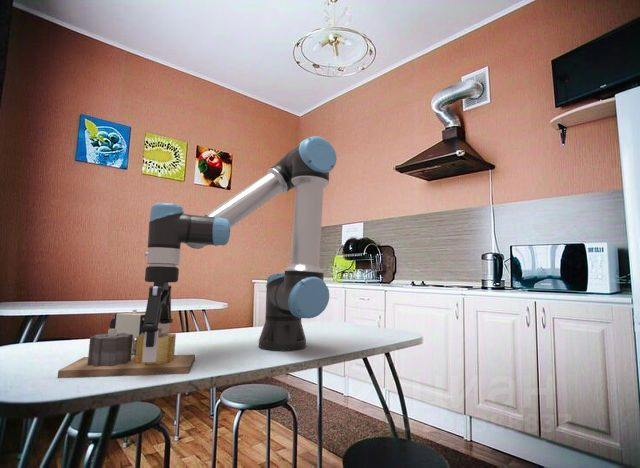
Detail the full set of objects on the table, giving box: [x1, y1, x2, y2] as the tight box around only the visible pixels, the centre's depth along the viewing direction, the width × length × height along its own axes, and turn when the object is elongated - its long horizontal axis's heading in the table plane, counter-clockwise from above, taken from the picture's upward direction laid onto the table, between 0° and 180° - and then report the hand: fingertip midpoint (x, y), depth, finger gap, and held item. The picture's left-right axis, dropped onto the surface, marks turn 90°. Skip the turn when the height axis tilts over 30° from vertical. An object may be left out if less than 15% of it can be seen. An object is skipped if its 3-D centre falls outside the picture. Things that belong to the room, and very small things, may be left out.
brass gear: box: [134, 332, 177, 365], centre depth 85 cm, size 8×8×6 cm
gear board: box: [57, 328, 196, 379], centre depth 84 cm, size 26×13×9 cm, turn 103°
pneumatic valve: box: [109, 309, 146, 356], centre depth 100 cm, size 6×12×12 cm, turn 79°
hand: (155, 355), depth 85 cm, fingers open, 13 cm apart
